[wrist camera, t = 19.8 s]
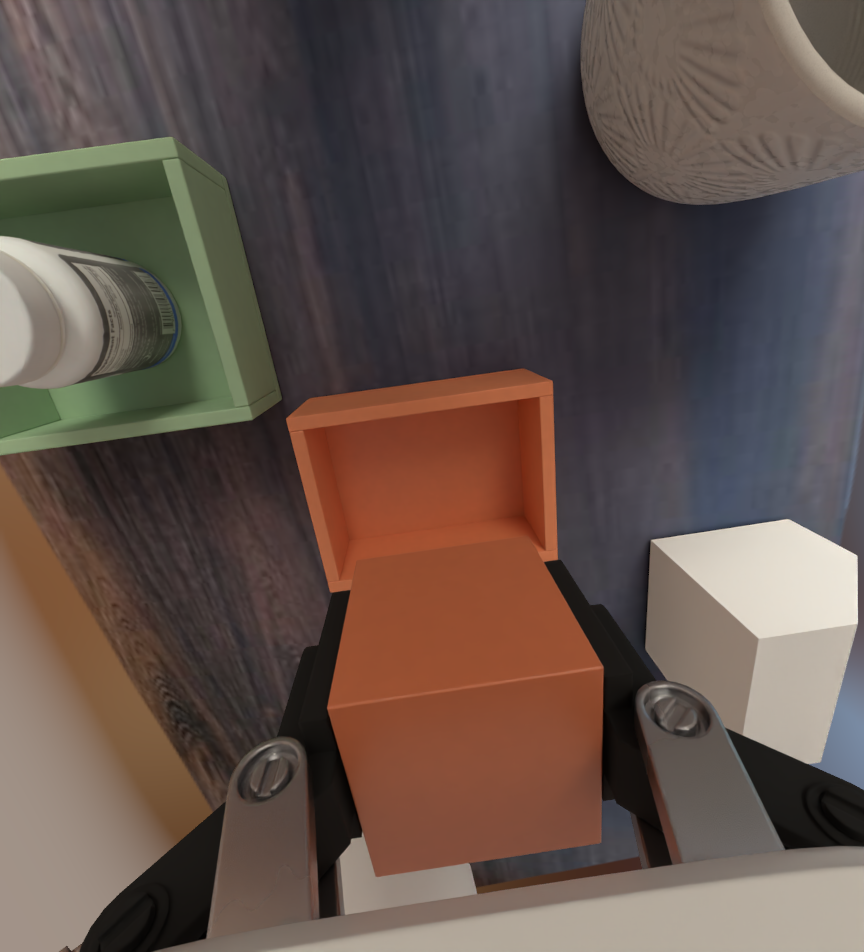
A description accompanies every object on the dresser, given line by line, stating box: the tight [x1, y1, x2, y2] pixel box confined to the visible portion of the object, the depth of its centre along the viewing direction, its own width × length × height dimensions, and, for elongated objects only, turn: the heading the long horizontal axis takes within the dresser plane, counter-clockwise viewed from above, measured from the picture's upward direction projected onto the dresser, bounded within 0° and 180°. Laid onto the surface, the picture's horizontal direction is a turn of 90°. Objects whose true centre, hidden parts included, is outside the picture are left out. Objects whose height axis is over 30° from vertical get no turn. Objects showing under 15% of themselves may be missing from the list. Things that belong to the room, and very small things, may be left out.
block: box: [327, 536, 604, 877], centre depth 10 cm, size 4×4×4 cm
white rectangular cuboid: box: [645, 519, 858, 764], centre depth 25 cm, size 8×15×8 cm, turn 8°
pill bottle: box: [0, 236, 182, 389], centre depth 16 cm, size 5×5×8 cm
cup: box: [340, 831, 477, 915], centre depth 26 cm, size 12×12×11 cm
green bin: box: [0, 137, 282, 456], centre depth 18 cm, size 10×11×5 cm
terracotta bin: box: [286, 368, 558, 593], centre depth 21 cm, size 9×11×5 cm
